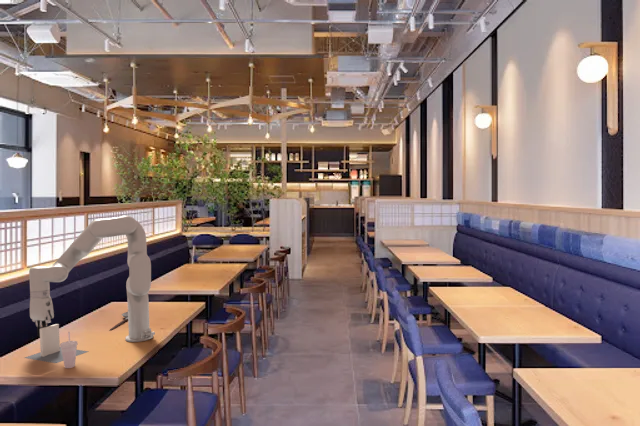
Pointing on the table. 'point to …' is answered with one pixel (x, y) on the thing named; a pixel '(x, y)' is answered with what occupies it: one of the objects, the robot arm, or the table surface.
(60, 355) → the mat
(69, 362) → the smoothie
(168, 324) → the table surface
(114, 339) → the table surface
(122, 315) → the spoon
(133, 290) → the robot arm
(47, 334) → the tile
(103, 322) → the table surface
